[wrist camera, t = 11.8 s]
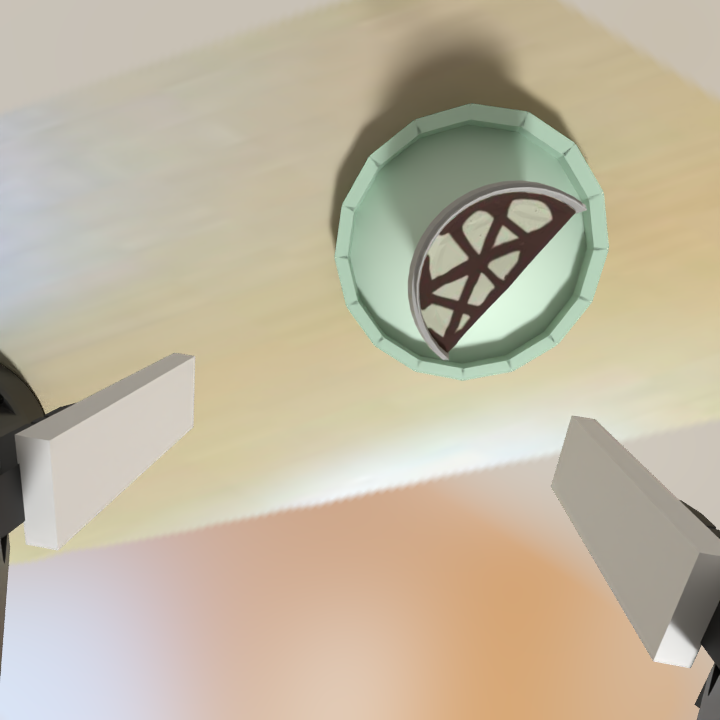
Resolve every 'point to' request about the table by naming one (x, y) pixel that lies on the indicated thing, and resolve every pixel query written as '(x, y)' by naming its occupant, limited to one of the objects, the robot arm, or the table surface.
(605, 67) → the table surface
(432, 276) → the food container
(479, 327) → the tray
